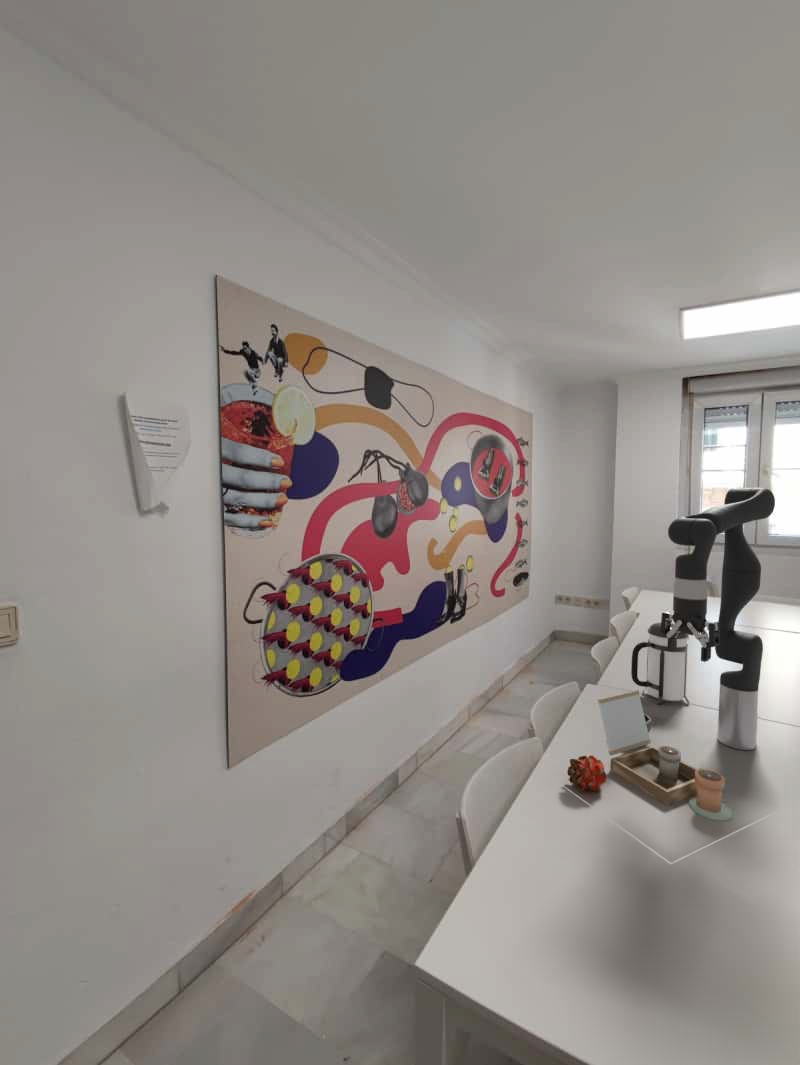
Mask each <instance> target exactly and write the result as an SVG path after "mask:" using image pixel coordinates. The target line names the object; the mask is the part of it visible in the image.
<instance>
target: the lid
mask: <svg viewBox="0 0 800 1065" xmlns="http://www.w3.org/2000/svg"><path fill="white" fill-rule="evenodd" d="M640 696H641V695H640V690H632V691H629V692H628V691H627V692H624V693H620V694H616V695H615V694H614V695H611V696H607V697H603V698H599V699H597V702H598V703H597V704H598V707H599V710H600V715H601V720H602V724H603V729H604V730H603V731H604V733H605V734H604V735H605V738H606V743H607V748H608V755H609V756H614V755H616V754H617V755H618V754H621V753H624V752H626V751H630V750H633V749H635V748H639V747H643V746H645V745H648V744H651V739H650V734H649V732H648V730H647V726H646V721H645V717H644V714H645V713H644V707H643V708H642V704H641V700H640Z"/></svg>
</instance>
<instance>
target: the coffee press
mask: <svg viewBox="0 0 800 1065" xmlns="http://www.w3.org/2000/svg"><path fill="white" fill-rule="evenodd" d="M672 622H673V620H672V621H671V628H672V627H673V626H674V625H675V623H672ZM671 628H670V629H671ZM660 630H661V622H656V623H653V624H651V625H650V626H649V628H647V633H648V639H647V641H642V642H639V643H637V644H635V646H634V648H633V650H632V653H631V654H632V655H631V672H630V674H631V679H632V681H633V682H634V683H635V684H636V685H637V686H640V687H643V688H645V689H646V691H647V693H646V694H647V695H648V694H649V695H650V696H652V697H654V698H656V699H657V701H656V702H657V703H656V704H657V705H658V706H661V705H662V706H663V704H664V702H665V701H668V702H678V701H679V702H681V703H682V704H683V705H685V706H688V705H689V704H690V701H689V700H688V699H689V698H687V695H686V694H687V693H686V692H687V691H686V690H687V671H688V670H687V667H688V650H689V647H688V646H689V645H688V641H689V640H690V637H689V636H690V635H689V634H687V633H681V632H680V633H679V634H678V635H677V636H676V637H675V638H677V650H676V652H669V649H668V637H667V636H666V635H665V634H661V632H660ZM644 648H645V649H646V648H647V658H646V660H647V661H646V663H647V664H646V681H643V680H639V677H638V670H639V669H638V665H639V664H638V663H639V652H640V651H641V650H642V649H644ZM644 693H645V690H642V695H644ZM683 699H685V700H683ZM685 701H686V702H685Z"/></svg>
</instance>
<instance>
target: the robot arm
mask: <svg viewBox="0 0 800 1065" xmlns="http://www.w3.org/2000/svg"><path fill="white" fill-rule="evenodd" d="M775 505H776V500H775V495H774V493H773V492H772V490H770V489H769V488H767V487H734V488H730V489H729V490H728V491H727V493H726V494H725V497H724V503H723V504H722V505H717V506H714V507H710V508H709V509H706V510H704V511H702V512H700V513H696V514H695V513H694V514H689V515H685V516H684V515H683V516H680V517H678V518H676V519H674V520H673V521H672V522H671V523H670V525H669V526H668V529H667V530H668V531H667V535H668V538H669V540H670V541H671V542H672V543H673V544H676V545H677V546H678V545H679V546H688V547H689V546H691V547H694V549H693V551H692V552H691V553H689V554H688V553H686V554H680V555H678V556H676V558H675V562H674V563H675V566H674V567H675V568H674V581H673V589H672V590H673V591H672V592H673V594H672V595H673V597H672V599H673V600H672V610H673V613H672V612H671V611H665V612H662V613H661V620H660V623H661V630H660V632H661V634H665V635H666V636H667V637H668V649H669V652H676V650H677V638H675V637H676V636H677V635H678V634H679V633H680V632H681V633H687V634H689V636H694V637H695V639H696V640H697V641H698V642H699V644H700V645H701V647H700V650H701V651H700V661H701V662H704V663H705V662H708V661H709V660H710V659H711V658H712V648H714V651H715V654H716V656H717V658H719V659H721V660H723V661H728V662H731V663H735V664H739V665H742V668H741V669H740V670H728V671H727V670H726V671H723V672H721V674H720V677H719V697H718V699H719V700H718V715H717V716H718V717H717V718H718V719H717V738H716V739H717V740H718V741H719V742H720V743H721V744H723V745H725V746H727V747H730V748H732V749H736V750H742V751H752V750H755V749H756V744H757V733H758V717H759V716H758V715H759V714H758V706H759V705H758V703H759V702H758V701H759V685H760V680H761V670H762V669H761V667H762V661H763V660H762V659H763V654H764V652H763V650H764V645H763V641H762V640H763V639H762V638H761V637H760V636H759V635H758V634H755V633H749V632H744V631H740V630H735V624H736V620H737V618H738V616H739V614H740V613H741V611H742V610H743V609H744V608H745V607H746V605H747V604H749V602H750V601H751V600H753V598H754V597H755V596H756V595H757V594H758V593H759V590H760V588H761V576H762V565H761V562H760V560H759V558H758V557H757V554H756V553H755V552H754V550H753V549H752V548H751V546H750V544H749V542H748V541H747V538H746V537H745V535H744V528H743V524H746V523H750V522H753V521H758V520H764V519H768V518H769V517H770V516H771V515H772V514H773V512H774V510H775V507H776V506H775ZM723 533H724V547H723V548H724V550H723V560H722V569H721V570H722V571H721V588H720V589H721V590H720V604H719V605H720V606H719V607H720V609H719V615H718V620H717V621H715V622H712V621H707V618H706V617H707V613H708V612H707V611H708V582H707V579H708V575H707V574H708V572H707V571H708V562H709V559H710V555H711V553H712V552H711V551H712V550H713V547H714V544H715V542H716V539H717V536H718V535H720V534H723ZM671 621H672V622H674V623H673V624H675V625H674V626H673V627H672V628H671V623H672V622H671ZM670 628H671V629H670ZM705 628H706V629H705ZM706 630H707V631H708V632H707V631H706Z"/></svg>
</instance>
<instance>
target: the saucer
mask: <svg viewBox="0 0 800 1065" xmlns="http://www.w3.org/2000/svg"><path fill="white" fill-rule="evenodd" d="M696 796H697V795H692V796H690V797H689V798H688V804H689V807H690V808H691V810H693V811H694V812H695V813H697V814H699V815H701V816H702V817H704V818H707V819H710V820H712V821H713V820H714V821H719V822H721V821H722V822H723V821H724V822H725V821H729V820H731V819H732V818H733V811H732V809H731V808H730V807H729V806H728V805H727V804H726V803H724V802H723V801H721V811H720V812H716V813H715V812H709V811H706V810H704V809H702V808H700V807H699V806H698V805H697V804H696Z"/></svg>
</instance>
